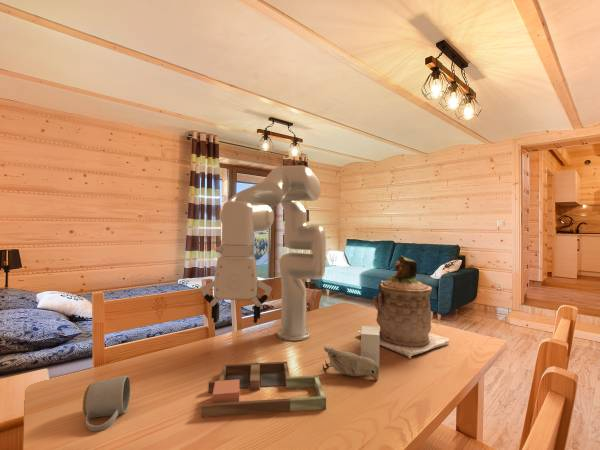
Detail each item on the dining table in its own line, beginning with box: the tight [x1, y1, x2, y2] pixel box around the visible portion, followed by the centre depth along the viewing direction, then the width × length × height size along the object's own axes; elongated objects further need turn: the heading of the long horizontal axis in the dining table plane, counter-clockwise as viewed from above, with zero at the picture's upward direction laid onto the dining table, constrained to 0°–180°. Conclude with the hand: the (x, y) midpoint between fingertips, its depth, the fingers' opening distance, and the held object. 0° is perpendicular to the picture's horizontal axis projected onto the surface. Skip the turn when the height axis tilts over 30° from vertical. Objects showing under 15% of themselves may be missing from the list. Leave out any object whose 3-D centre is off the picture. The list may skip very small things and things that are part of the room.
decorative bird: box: [321, 345, 380, 381], centre depth 90 cm, size 5×16×8 cm, turn 71°
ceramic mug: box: [82, 375, 131, 432], centre depth 70 cm, size 11×8×8 cm
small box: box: [360, 325, 381, 370], centre depth 97 cm, size 8×6×10 cm
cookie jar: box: [357, 255, 450, 359], centre depth 117 cm, size 25×25×32 cm
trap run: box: [200, 361, 327, 418], centre depth 82 cm, size 20×28×2 cm
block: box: [212, 379, 240, 403], centre depth 76 cm, size 6×6×4 cm
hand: (236, 321), depth 77 cm, fingers open, 9 cm apart
